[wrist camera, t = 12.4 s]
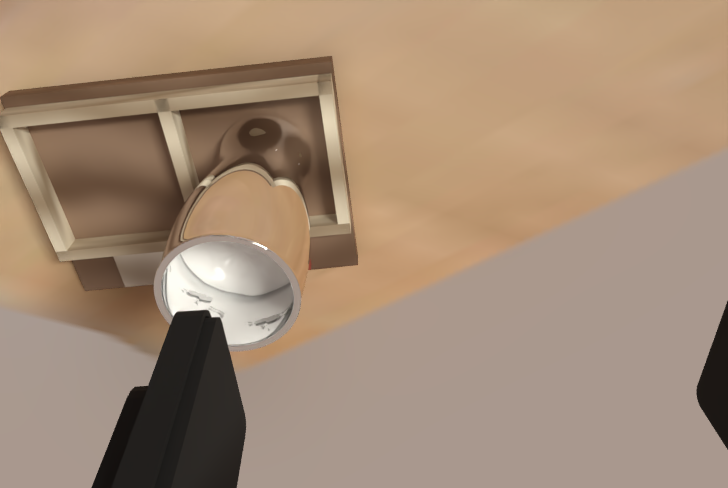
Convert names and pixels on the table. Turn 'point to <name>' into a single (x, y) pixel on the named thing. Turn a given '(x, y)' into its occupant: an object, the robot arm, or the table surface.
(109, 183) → the divided sorting tray
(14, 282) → the table surface
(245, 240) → the silver piece
